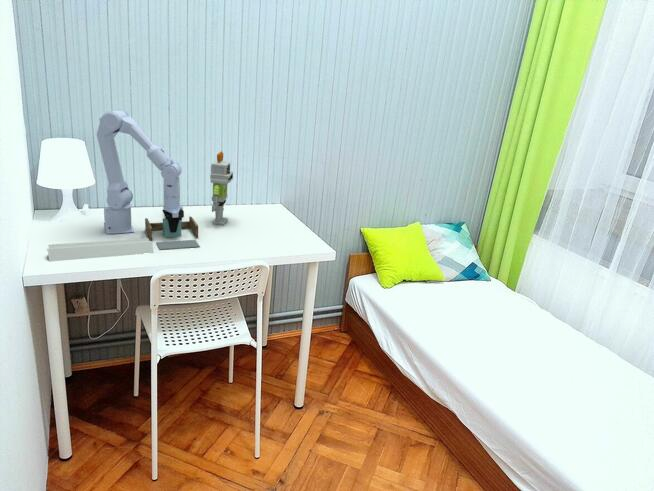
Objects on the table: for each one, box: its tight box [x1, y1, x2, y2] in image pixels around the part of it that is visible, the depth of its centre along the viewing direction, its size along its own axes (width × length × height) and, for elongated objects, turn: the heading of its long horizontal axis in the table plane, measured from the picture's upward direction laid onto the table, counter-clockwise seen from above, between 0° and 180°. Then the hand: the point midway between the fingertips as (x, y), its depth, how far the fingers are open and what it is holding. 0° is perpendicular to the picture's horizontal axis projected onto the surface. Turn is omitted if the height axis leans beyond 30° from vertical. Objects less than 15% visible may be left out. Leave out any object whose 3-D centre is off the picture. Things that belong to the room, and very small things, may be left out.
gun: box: [178, 208, 185, 222], centre depth 197 cm, size 4×20×10 cm, turn 29°
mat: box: [155, 239, 201, 251], centre depth 172 cm, size 14×7×1 cm, turn 118°
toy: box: [209, 150, 234, 227], centre depth 196 cm, size 16×8×30 cm, turn 179°
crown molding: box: [47, 237, 155, 262], centre depth 160 cm, size 31×12×4 cm, turn 119°
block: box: [162, 217, 182, 238], centre depth 181 cm, size 6×4×6 cm
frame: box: [144, 216, 199, 242], centre depth 181 cm, size 17×12×5 cm
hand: (171, 230), depth 181 cm, fingers closed on block, 4 cm apart
